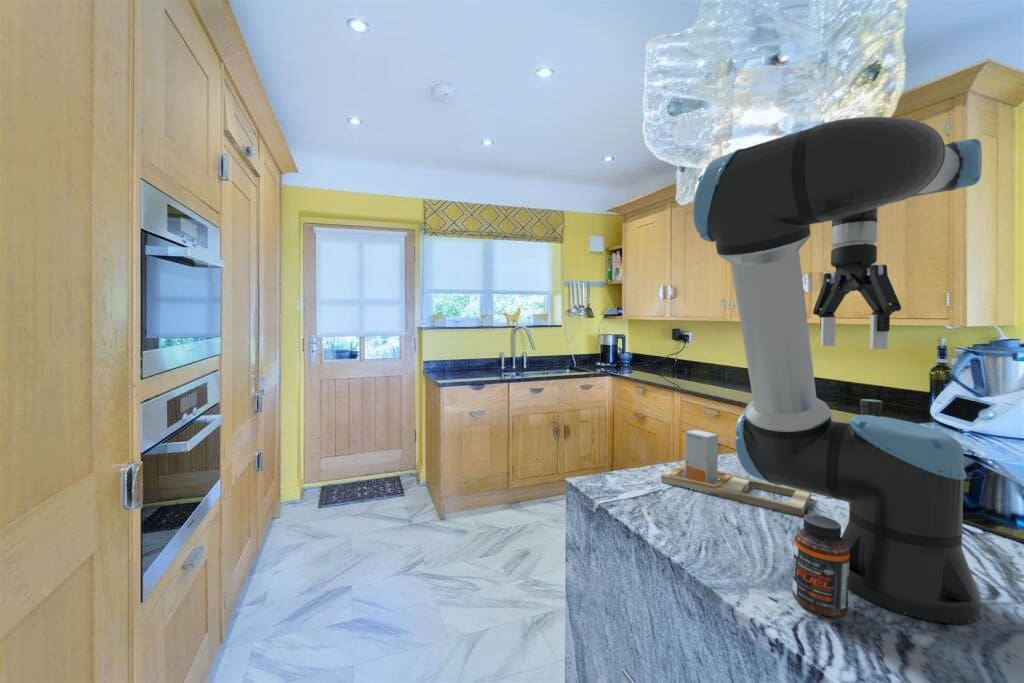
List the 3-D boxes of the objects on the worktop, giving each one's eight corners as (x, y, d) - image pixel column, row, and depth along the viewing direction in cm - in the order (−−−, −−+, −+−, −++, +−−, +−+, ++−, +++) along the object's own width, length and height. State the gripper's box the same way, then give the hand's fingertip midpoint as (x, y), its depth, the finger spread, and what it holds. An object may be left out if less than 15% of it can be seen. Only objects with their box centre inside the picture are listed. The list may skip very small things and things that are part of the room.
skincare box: (684, 480, 102) (684, 431, 102) (695, 477, 104) (696, 429, 104) (706, 488, 97) (707, 436, 97) (718, 485, 99) (719, 434, 99)
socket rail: (801, 516, 82) (801, 507, 82) (661, 481, 101) (661, 474, 101) (810, 498, 91) (810, 490, 91) (680, 469, 110) (680, 462, 110)
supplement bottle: (788, 605, 56) (790, 520, 56) (796, 585, 60) (798, 506, 60) (845, 626, 52) (847, 535, 52) (850, 603, 56) (852, 519, 56)
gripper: (929, 232, 76) (925, 350, 77) (828, 256, 101) (826, 345, 102) (886, 232, 76) (883, 350, 77) (796, 256, 101) (794, 345, 102)
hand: (851, 347), depth 89 cm, fingers open, 13 cm apart
